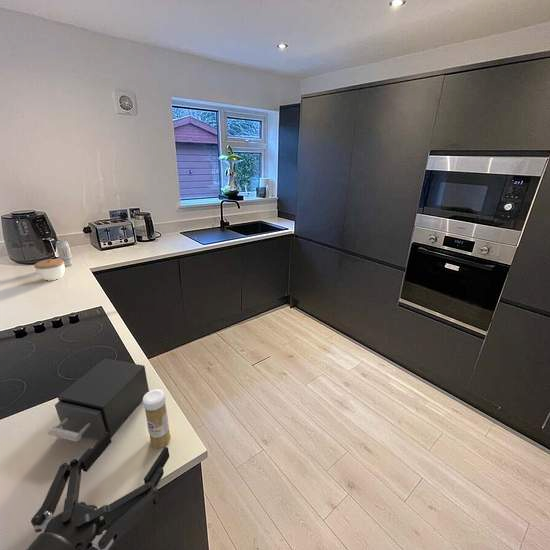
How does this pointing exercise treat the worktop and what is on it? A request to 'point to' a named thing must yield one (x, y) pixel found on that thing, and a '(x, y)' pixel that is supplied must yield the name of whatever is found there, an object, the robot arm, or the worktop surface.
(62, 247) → the clear ribbed bottle
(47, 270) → the lidded bowl
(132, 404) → the cabinet
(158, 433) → the sprinkles bottle
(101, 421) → the drawer
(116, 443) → the worktop surface
